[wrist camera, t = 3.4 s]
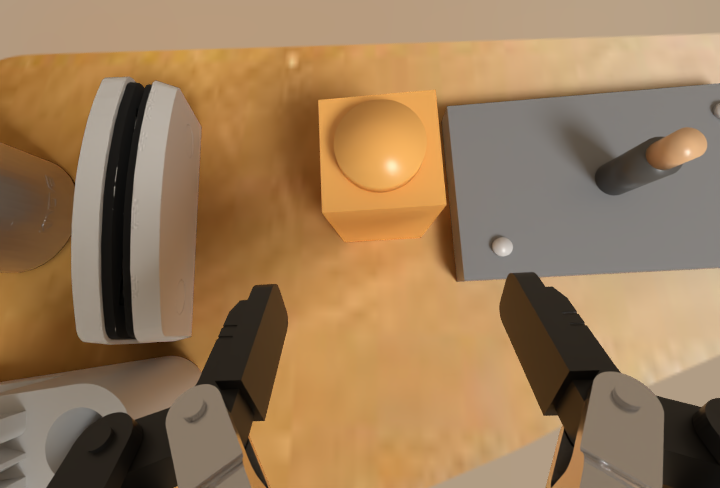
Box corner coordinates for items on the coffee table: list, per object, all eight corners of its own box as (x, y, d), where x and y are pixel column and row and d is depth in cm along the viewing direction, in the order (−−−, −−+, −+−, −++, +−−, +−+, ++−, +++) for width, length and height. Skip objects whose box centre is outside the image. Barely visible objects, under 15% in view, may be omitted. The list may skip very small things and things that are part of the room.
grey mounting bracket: (-27, 386, 23) (-239, 436, 15) (206, 349, 22) (110, 382, 14) (-30, 468, 22) (-256, 567, 14) (212, 433, 21) (115, 517, 14)
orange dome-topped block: (344, 242, 23) (318, 208, 13) (341, 170, 23) (314, 89, 14) (420, 237, 22) (450, 199, 13) (414, 164, 23) (438, 77, 14)
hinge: (141, 127, 25) (62, 26, 16) (205, 134, 26) (169, 44, 17) (124, 342, 23) (18, 377, 13) (196, 337, 24) (147, 366, 14)
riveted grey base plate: (456, 281, 22) (492, 277, 15) (441, 121, 23) (467, 51, 16) (763, 265, 20) (959, 253, 14) (723, 98, 22) (877, 13, 15)
